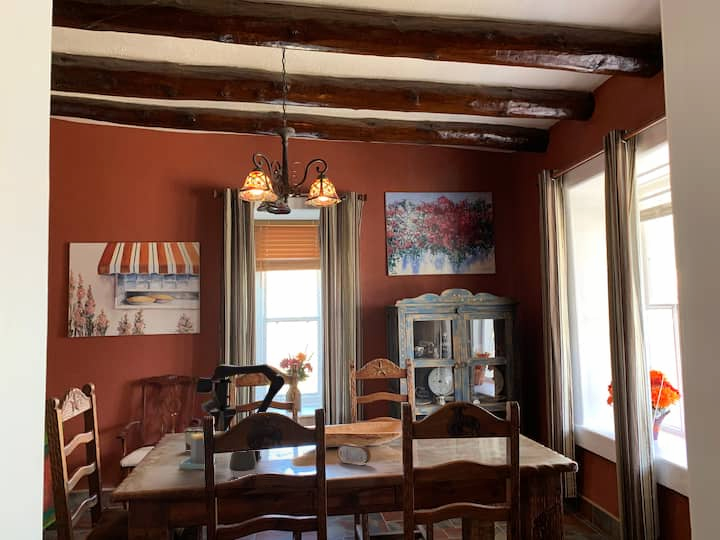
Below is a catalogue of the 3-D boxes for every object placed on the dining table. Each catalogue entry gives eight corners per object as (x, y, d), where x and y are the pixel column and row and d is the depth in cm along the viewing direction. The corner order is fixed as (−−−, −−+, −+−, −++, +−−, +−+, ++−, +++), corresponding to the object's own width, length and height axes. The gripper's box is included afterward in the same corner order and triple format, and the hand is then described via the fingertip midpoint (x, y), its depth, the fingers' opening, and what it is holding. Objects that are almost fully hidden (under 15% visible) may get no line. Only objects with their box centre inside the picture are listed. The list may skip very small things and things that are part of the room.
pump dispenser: (223, 477, 202) (224, 437, 203) (245, 471, 209) (246, 433, 211) (238, 482, 195) (240, 441, 196) (261, 476, 202) (262, 437, 204)
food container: (213, 448, 245) (214, 427, 246) (208, 452, 239) (209, 429, 240) (188, 447, 246) (189, 426, 247) (182, 451, 240) (183, 429, 241)
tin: (370, 465, 220) (371, 445, 220) (367, 467, 217) (368, 446, 218) (339, 461, 226) (339, 441, 227) (336, 462, 223) (336, 442, 224)
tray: (216, 462, 222) (216, 457, 222) (205, 470, 210) (205, 464, 211) (191, 461, 223) (191, 456, 223) (179, 468, 212) (179, 463, 212)
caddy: (201, 461, 220) (202, 432, 221) (206, 464, 216) (207, 435, 218) (189, 463, 217) (190, 434, 218) (194, 466, 213) (196, 436, 214)
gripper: (195, 392, 230) (193, 428, 229) (213, 397, 216) (212, 435, 215) (218, 390, 237) (217, 425, 236) (237, 395, 223) (236, 432, 222)
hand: (220, 429), depth 227 cm, fingers open, 9 cm apart
